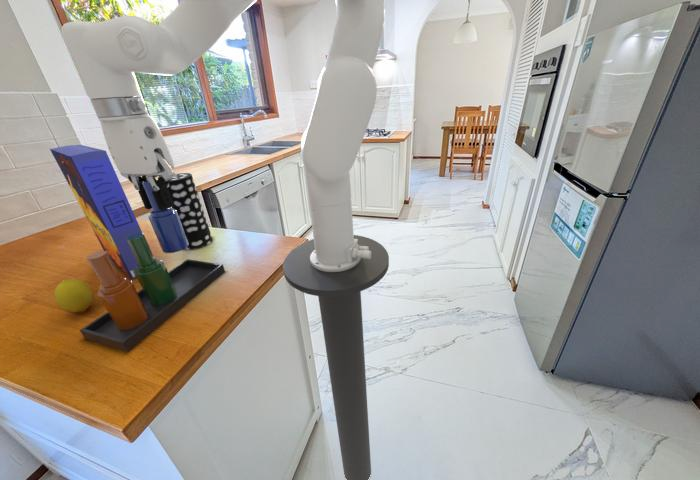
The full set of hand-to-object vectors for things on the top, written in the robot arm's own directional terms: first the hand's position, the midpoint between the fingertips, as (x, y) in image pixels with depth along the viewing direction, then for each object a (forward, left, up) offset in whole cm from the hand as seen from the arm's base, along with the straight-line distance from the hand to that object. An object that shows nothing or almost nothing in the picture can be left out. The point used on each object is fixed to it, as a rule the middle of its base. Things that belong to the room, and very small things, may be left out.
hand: (159, 206), depth 59 cm
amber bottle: (0, +14, -18) cm, 23 cm away
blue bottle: (0, 0, -10) cm, 10 cm away
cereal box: (+25, -4, -19) cm, 32 cm away
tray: (0, +7, -19) cm, 20 cm away
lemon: (+15, +14, -19) cm, 28 cm away
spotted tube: (+14, -17, -19) cm, 29 cm away
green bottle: (0, +7, -18) cm, 20 cm away
